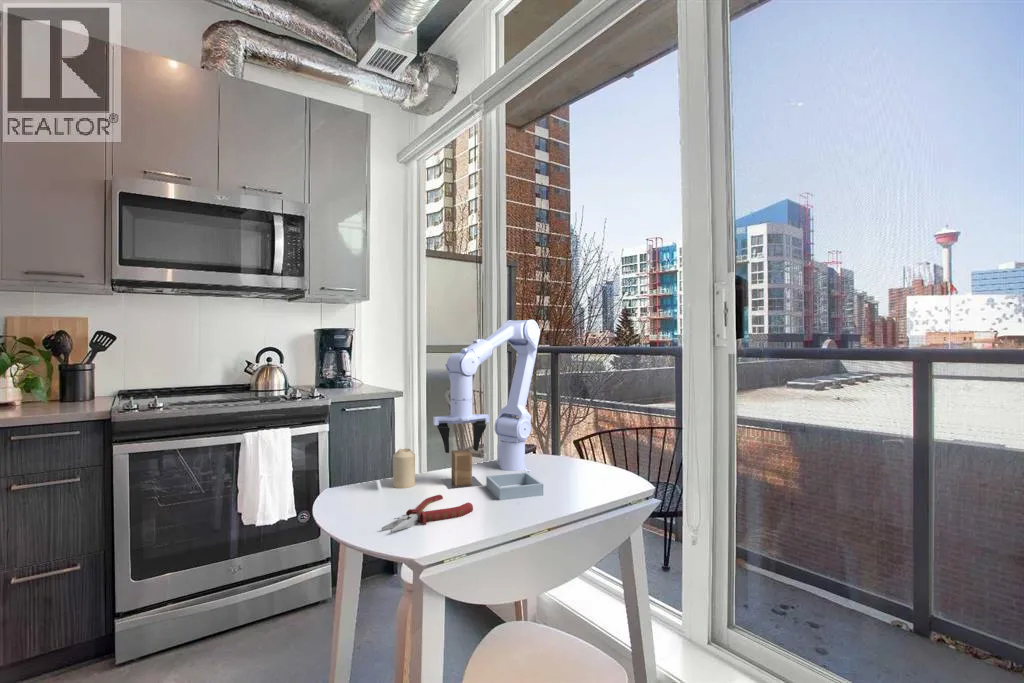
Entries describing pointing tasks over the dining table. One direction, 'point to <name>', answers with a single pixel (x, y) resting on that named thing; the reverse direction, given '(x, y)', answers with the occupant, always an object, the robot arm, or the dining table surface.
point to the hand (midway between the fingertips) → (461, 451)
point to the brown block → (461, 467)
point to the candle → (404, 469)
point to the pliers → (428, 514)
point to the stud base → (451, 485)
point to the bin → (514, 492)
